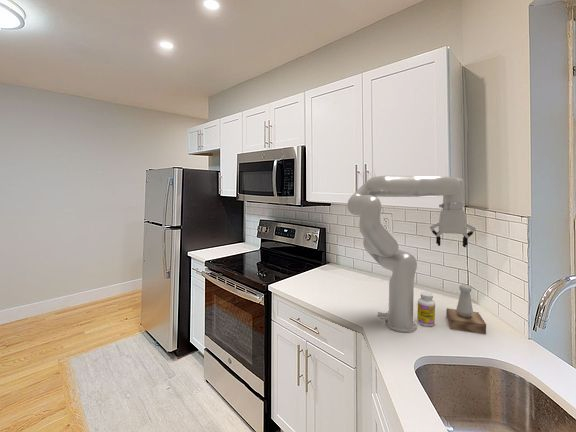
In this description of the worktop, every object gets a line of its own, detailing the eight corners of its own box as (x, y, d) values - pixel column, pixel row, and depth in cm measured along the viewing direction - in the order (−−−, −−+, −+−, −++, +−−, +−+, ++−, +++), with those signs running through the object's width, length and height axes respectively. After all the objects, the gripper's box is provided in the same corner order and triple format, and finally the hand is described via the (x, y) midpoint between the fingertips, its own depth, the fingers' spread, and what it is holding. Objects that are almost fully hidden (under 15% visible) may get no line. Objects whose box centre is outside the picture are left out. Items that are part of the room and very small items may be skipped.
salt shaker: (466, 312, 119) (467, 283, 118) (476, 318, 113) (477, 287, 112) (453, 313, 119) (454, 283, 118) (462, 319, 113) (463, 288, 112)
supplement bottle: (417, 325, 116) (418, 295, 115) (416, 318, 122) (417, 290, 122) (435, 328, 114) (436, 297, 113) (433, 321, 120) (434, 292, 119)
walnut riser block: (450, 329, 113) (451, 319, 113) (446, 317, 124) (446, 308, 124) (485, 334, 108) (486, 324, 108) (478, 321, 119) (478, 312, 119)
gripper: (431, 207, 120) (430, 246, 121) (478, 207, 113) (476, 248, 114) (429, 206, 127) (428, 243, 128) (474, 206, 120) (472, 245, 121)
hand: (451, 246), depth 121 cm, fingers open, 9 cm apart
